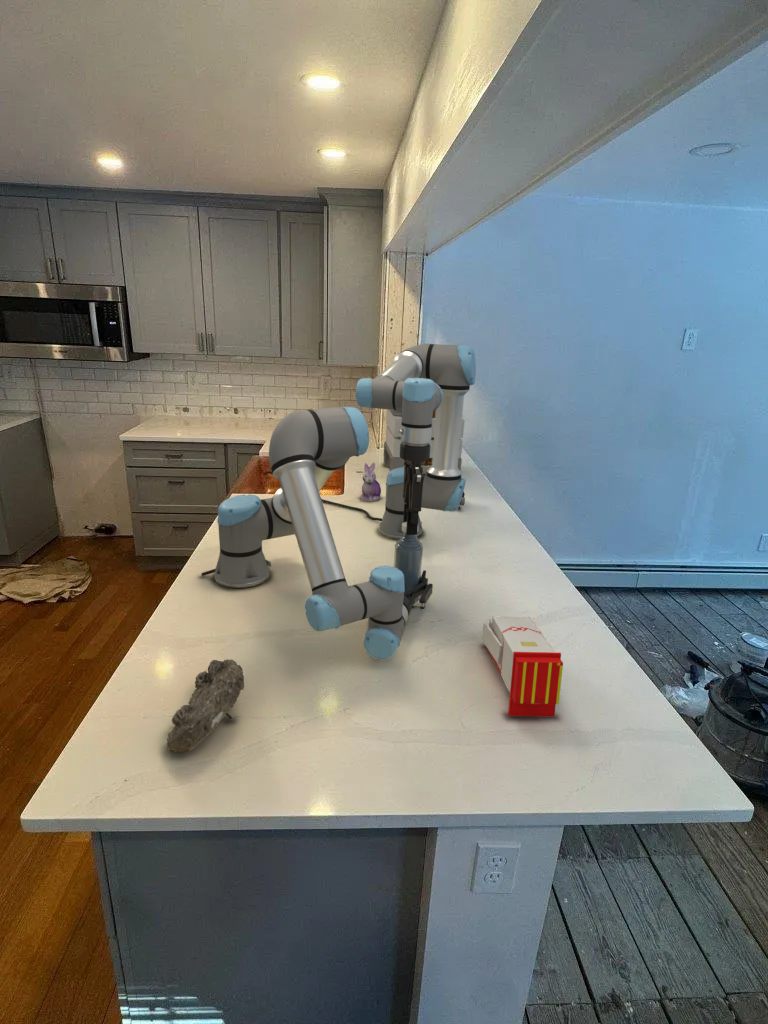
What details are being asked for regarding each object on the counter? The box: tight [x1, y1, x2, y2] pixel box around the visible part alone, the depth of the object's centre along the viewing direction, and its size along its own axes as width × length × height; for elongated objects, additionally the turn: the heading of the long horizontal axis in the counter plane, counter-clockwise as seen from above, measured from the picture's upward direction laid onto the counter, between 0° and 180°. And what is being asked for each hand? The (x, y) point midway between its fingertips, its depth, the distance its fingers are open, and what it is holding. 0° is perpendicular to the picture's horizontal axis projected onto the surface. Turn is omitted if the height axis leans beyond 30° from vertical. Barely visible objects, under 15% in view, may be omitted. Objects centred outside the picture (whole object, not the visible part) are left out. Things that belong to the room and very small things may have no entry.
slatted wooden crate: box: [383, 409, 465, 472], centre depth 268 cm, size 34×33×41 cm
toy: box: [481, 615, 564, 718], centre depth 123 cm, size 12×13×30 cm
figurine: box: [360, 462, 382, 502], centre depth 233 cm, size 9×10×15 cm
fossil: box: [166, 658, 245, 754], centre depth 106 cm, size 22×10×15 cm
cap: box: [402, 522, 419, 533], centre depth 147 cm, size 4×4×2 cm
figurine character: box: [457, 490, 466, 510], centre depth 230 cm, size 7×8×15 cm
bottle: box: [393, 532, 424, 601], centre depth 151 cm, size 7×7×21 cm
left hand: (409, 572), depth 157 cm, fingers closed on bottle, 7 cm apart
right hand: (409, 530), depth 148 cm, fingers closed on cap, 4 cm apart
